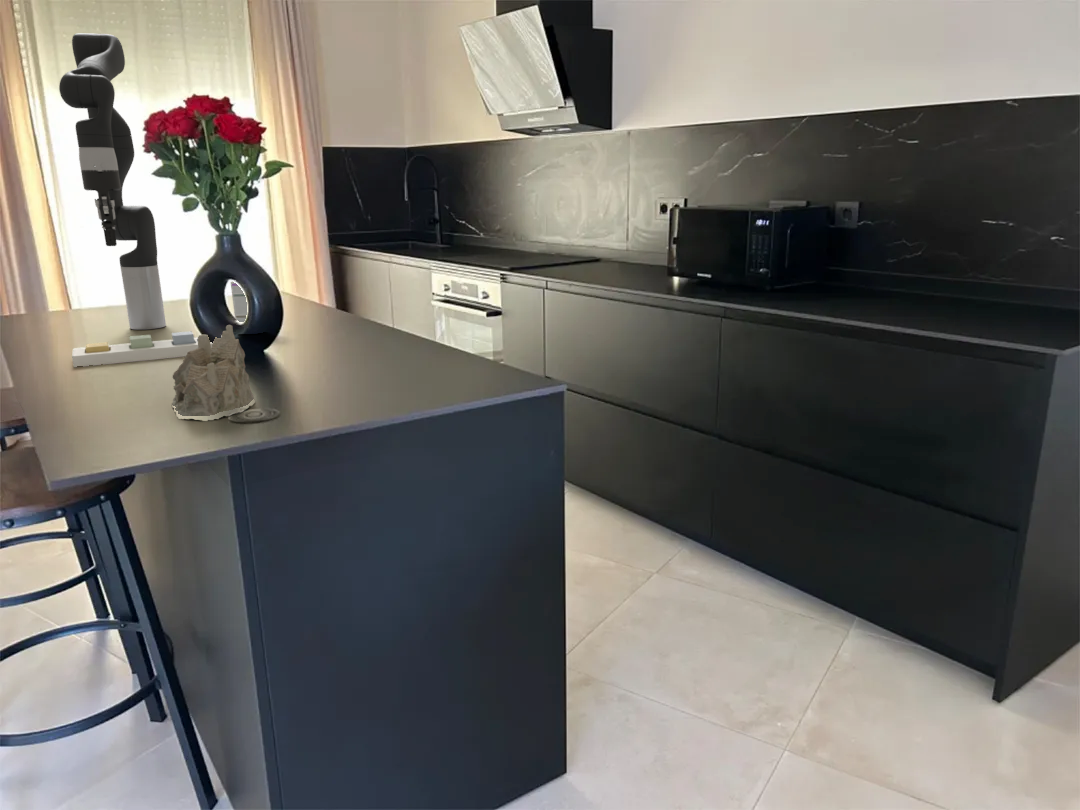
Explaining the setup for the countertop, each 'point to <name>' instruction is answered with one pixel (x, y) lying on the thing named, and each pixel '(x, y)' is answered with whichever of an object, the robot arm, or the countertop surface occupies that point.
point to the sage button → (141, 341)
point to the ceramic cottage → (212, 377)
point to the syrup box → (239, 302)
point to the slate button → (183, 338)
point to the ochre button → (97, 347)
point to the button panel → (132, 353)
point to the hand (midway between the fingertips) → (111, 245)
